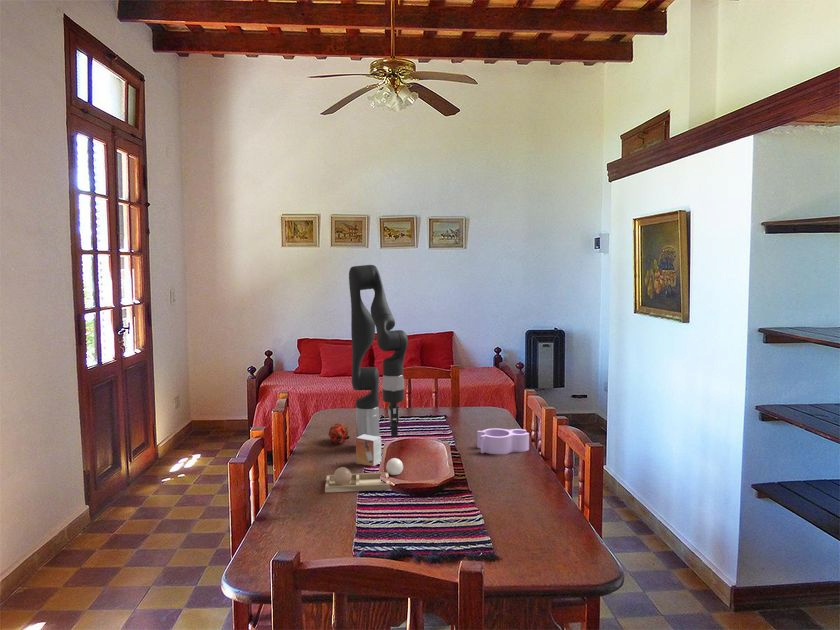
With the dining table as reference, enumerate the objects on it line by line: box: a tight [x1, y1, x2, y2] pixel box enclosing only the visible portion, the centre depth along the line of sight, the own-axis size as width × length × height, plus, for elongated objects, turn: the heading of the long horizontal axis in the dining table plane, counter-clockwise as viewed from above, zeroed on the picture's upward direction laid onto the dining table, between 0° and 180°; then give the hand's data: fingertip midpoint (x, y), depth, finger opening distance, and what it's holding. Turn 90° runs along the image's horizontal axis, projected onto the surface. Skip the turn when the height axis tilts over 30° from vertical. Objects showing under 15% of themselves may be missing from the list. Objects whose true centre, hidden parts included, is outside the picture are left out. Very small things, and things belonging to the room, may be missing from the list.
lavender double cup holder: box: [476, 427, 530, 455], centre depth 227 cm, size 20×12×7 cm, turn 96°
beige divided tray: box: [324, 471, 391, 494], centre depth 190 cm, size 11×21×2 cm, turn 96°
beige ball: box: [333, 466, 352, 486], centre depth 189 cm, size 6×6×6 cm
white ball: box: [385, 457, 404, 476], centre depth 200 cm, size 6×6×6 cm
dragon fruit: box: [328, 422, 351, 445], centre depth 237 cm, size 8×8×12 cm
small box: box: [355, 434, 382, 467], centre depth 211 cm, size 8×6×10 cm
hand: (393, 432), depth 199 cm, fingers open, 8 cm apart
